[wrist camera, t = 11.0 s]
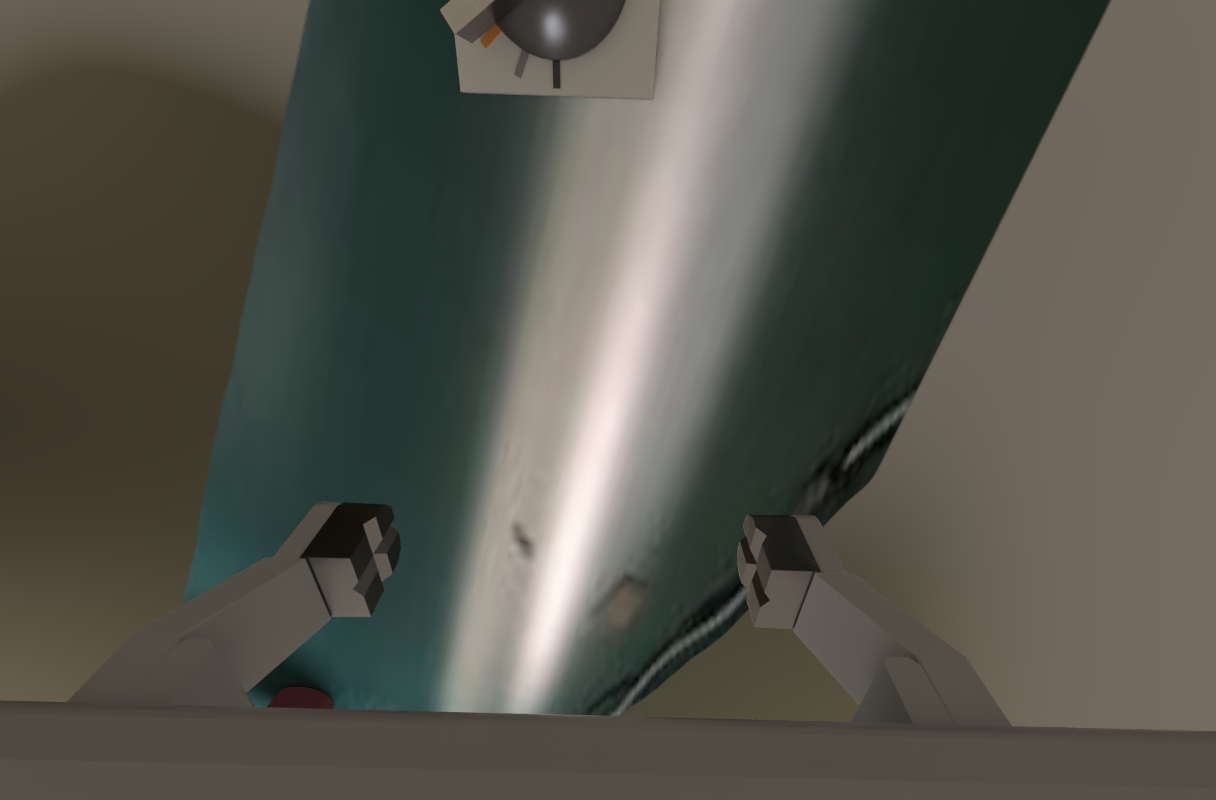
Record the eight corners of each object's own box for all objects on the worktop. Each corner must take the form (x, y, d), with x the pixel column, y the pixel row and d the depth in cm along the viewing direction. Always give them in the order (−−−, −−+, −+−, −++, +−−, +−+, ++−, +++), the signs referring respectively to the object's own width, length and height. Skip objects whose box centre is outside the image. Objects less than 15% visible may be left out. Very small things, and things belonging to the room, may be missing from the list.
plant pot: (364, 698, 78) (323, 792, 67) (330, 730, 84) (287, 821, 73) (280, 666, 74) (221, 761, 63) (250, 702, 79) (191, 795, 68)
